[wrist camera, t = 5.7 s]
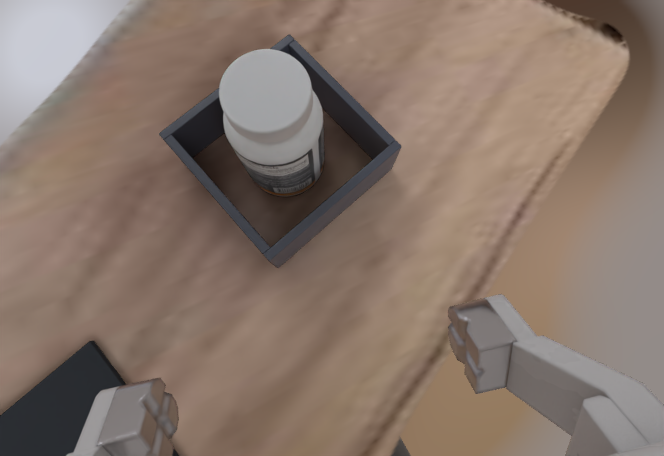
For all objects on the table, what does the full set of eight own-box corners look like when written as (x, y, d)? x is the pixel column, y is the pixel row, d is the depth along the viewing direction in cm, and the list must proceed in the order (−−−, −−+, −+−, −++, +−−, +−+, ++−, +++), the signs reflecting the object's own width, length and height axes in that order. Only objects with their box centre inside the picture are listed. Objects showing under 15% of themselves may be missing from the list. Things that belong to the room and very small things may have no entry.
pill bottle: (268, 117, 30) (238, 22, 20) (336, 144, 29) (340, 61, 19) (235, 181, 29) (186, 115, 19) (306, 211, 28) (293, 158, 18)
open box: (392, 168, 29) (402, 146, 25) (277, 268, 27) (269, 261, 23) (294, 69, 31) (289, 33, 27) (181, 157, 29) (158, 133, 25)
